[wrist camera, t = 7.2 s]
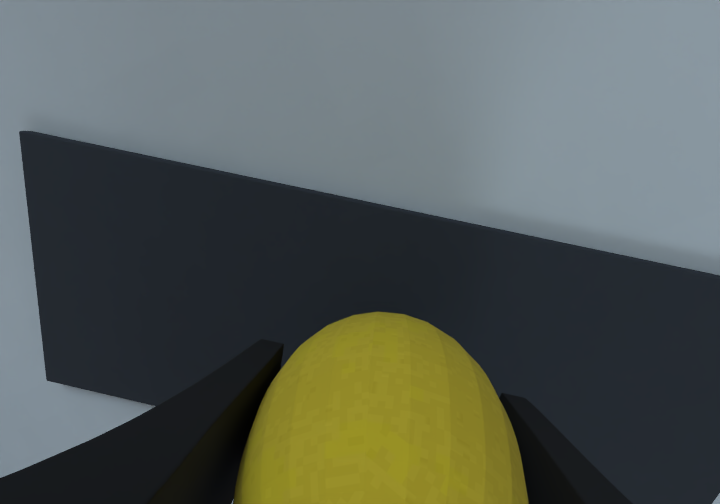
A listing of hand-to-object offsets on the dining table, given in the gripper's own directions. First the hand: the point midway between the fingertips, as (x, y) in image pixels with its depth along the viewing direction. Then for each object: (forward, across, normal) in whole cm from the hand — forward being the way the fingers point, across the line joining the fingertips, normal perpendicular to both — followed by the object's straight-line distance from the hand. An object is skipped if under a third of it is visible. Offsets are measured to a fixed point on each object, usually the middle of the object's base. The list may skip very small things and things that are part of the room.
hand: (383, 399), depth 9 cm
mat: (+3, 0, 0) cm, 3 cm away
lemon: (+2, 0, 0) cm, 2 cm away
